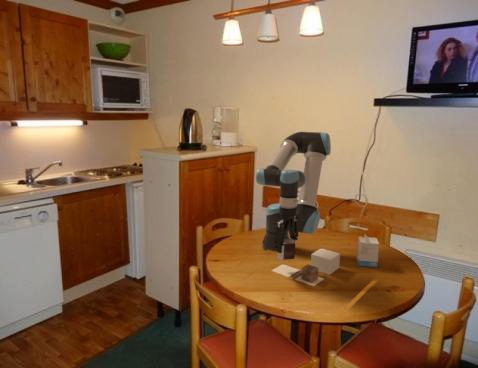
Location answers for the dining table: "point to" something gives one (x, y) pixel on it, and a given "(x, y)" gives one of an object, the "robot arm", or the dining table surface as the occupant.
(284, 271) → the pad
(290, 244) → the box
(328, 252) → the block
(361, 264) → the ink box
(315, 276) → the block
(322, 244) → the dining table surface
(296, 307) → the dining table surface
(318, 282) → the board
